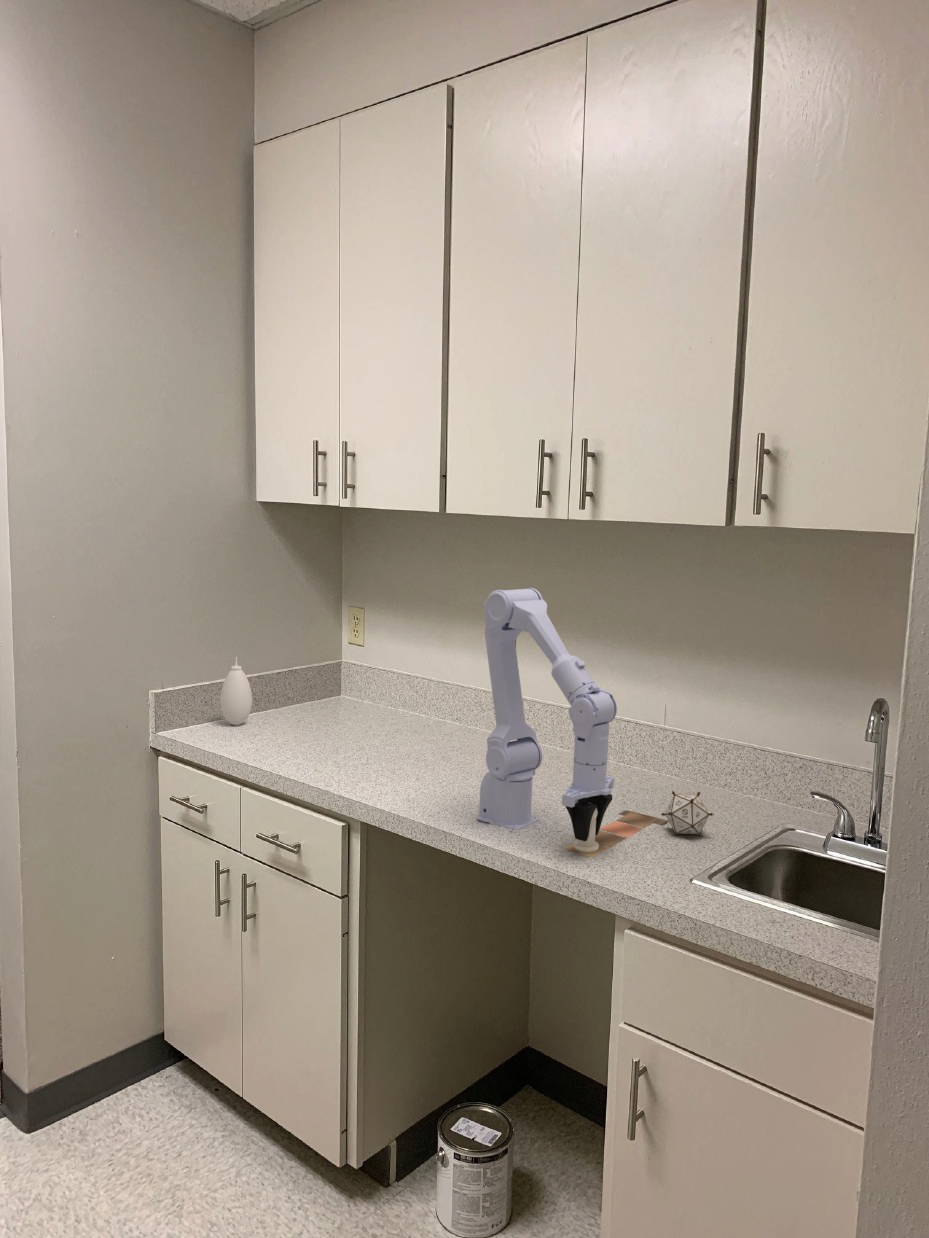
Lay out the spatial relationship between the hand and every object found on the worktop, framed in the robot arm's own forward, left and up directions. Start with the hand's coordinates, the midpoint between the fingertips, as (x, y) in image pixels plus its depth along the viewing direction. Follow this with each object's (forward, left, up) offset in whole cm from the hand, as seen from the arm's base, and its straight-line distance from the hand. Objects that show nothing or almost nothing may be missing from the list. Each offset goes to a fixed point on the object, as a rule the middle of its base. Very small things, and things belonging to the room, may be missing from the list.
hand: (586, 836), depth 164 cm
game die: (+10, +19, -3) cm, 22 cm away
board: (0, +10, -2) cm, 10 cm away
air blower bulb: (-113, +15, -3) cm, 114 cm away
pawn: (0, 0, -2) cm, 2 cm away
